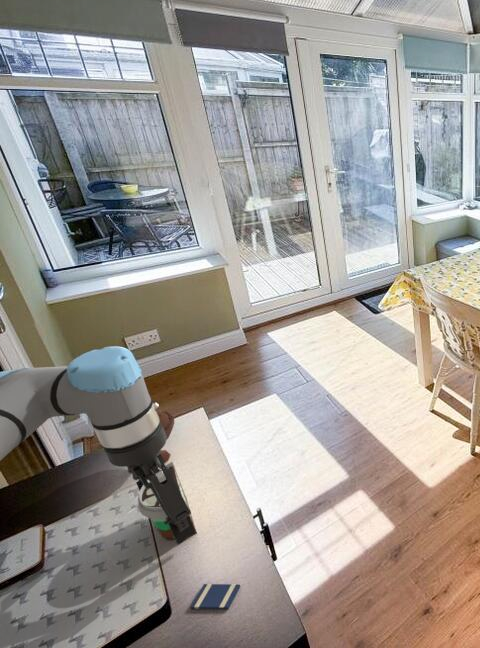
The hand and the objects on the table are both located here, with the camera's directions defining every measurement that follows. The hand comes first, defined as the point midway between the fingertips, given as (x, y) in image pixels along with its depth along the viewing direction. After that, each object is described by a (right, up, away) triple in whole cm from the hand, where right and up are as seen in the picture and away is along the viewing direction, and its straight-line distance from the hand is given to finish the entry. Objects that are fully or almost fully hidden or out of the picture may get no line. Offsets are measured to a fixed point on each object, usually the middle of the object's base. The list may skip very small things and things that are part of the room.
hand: (170, 518), depth 78 cm
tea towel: (+15, -8, -9) cm, 19 cm away
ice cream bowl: (-15, +4, +15) cm, 22 cm away
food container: (-1, -2, +1) cm, 3 cm away
